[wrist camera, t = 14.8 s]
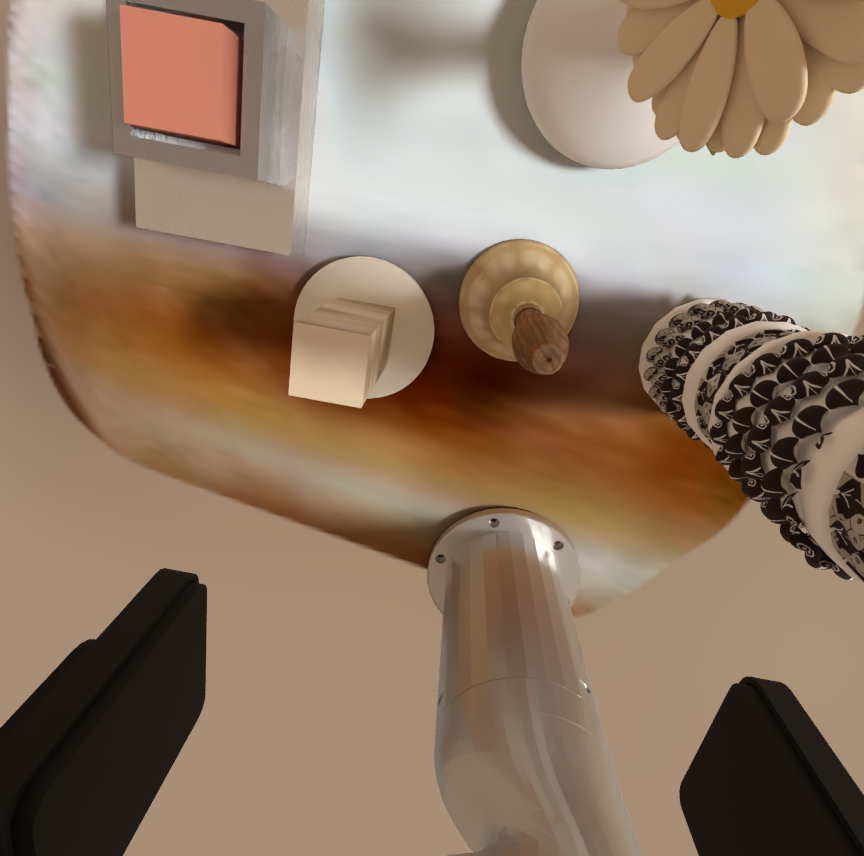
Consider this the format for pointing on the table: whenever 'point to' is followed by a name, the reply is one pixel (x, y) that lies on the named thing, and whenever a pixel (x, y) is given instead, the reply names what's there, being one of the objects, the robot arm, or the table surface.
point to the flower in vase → (685, 73)
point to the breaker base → (260, 132)
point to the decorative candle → (771, 416)
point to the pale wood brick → (340, 351)
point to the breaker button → (182, 76)
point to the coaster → (381, 287)
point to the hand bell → (521, 304)
